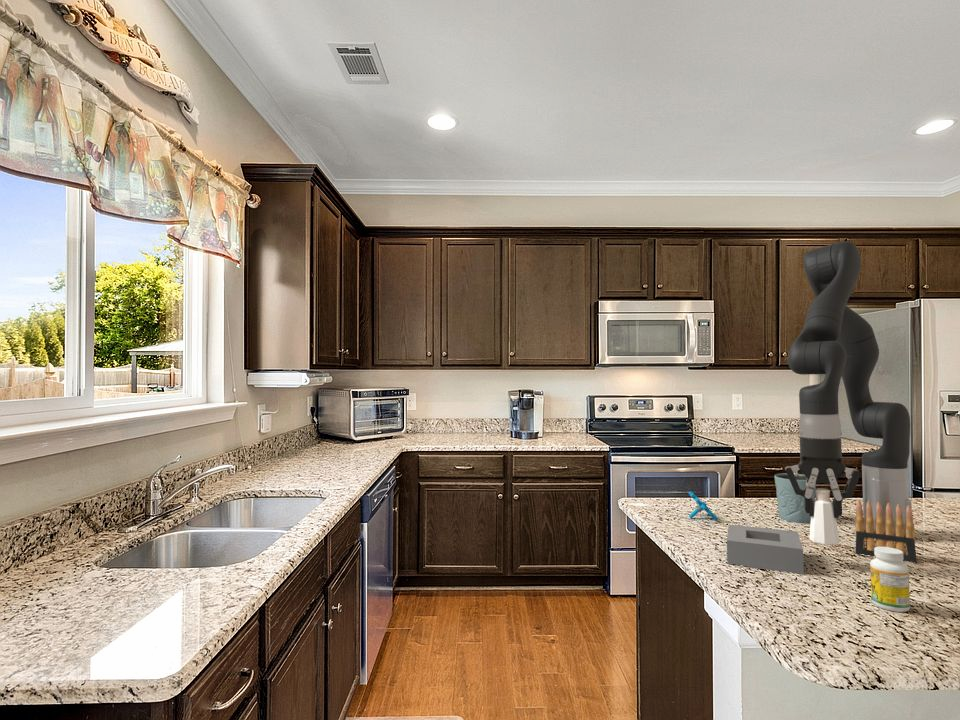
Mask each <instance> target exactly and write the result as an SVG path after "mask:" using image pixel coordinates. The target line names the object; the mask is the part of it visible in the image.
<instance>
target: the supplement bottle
mask: <svg viewBox="0 0 960 720" xmlns="http://www.w3.org/2000/svg"><path fill="white" fill-rule="evenodd" d="M874 555H875V557H874V558H873V559H871V561H870V562H869V568H870V569H869V570H870V595H871V596H870V597H871V603H872V604H873V605H874V606H876V607H877V608H879V609H883V610H885V611H891V612H896V613H906V612H908V611H909V610H910V609H911V595H910V594H911V593H910V569H909V567H908V565H906V564H905V563H904V561H903V559H904V558H903V552H902V551H901V550H898V549H895V548H890V547H875V548H874Z"/></svg>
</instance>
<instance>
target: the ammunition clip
mask: <svg viewBox="0 0 960 720" xmlns="http://www.w3.org/2000/svg"><path fill="white" fill-rule="evenodd" d="M855 508H856V509H855V510H856V511H855V518H854V521H855V522H854V523H855V554H856V553H857V554H856V555H860V554H864V555H863V556H867V555H871V556H870V557H874V556H875V555H874V548H875V547H890V548H895V549H898V550H901V551H902V552H903V558H904V559H903V561H902V562H907V561H908V563H915V564H916V563H917V562H918V561H917V552H916V538H915V535H916V533H915V523H914V518H913V517H914V516H913V510H911V507H910V505H908V506H907V509H906V520H905V535H904V523H903V517H902V509H901V506H900V504H898V505H897V507H896V517H895V534H894V522H893V516H892V509H891V505H890V503H888V504H887V506H886V516H885V533H884V521H883V515H882V507H881V504H880V502H878V503H877V506H876V518H875V532H874V519H873V514H872V506H871V503H870V501H868V502H867V505H866V518H865V530H864V516H863V504H862V501H861V500H860V499H858V500H857V502H856V506H855Z"/></svg>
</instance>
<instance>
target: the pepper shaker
mask: <svg viewBox="0 0 960 720" xmlns="http://www.w3.org/2000/svg"><path fill="white" fill-rule="evenodd" d="M830 497H831V489H828V488H824V487H817V488H816V489H815V500H813V516H811V523H809V524H810V525H809V527H810V528H809V538H808V539H809V540H810V541H811V542H813V543H814V544H820V545H822V546H823V545H824V546H836V545H838V544H840V543H841V541H840V534H839V529H838V523H837V518H835V516H834V504H833V500H831V498H830Z"/></svg>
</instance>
